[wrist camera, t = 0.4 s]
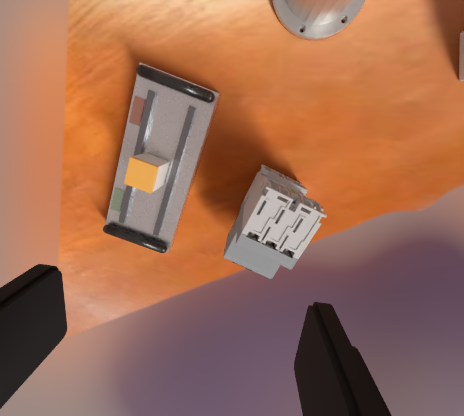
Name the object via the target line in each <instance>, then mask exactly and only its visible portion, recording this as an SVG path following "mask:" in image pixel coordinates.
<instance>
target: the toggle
mask: <svg viewBox="0 0 464 416" xmlns="http://www.w3.org/2000/svg"><path fill="white" fill-rule="evenodd" d="M169 163H170V162H169V161H167V160H164V159H161V158H159V157H156V156H153V155H151V154H148V153H143V154H139V155H135V156H132V157H130V159H129V163H128V168H127V172H126V177H125V181H124V184H126V185H129V186H131V187H134V188H137V189H140V190H142V191H145V192H148V193H150V194H151V193H152V192H154V191H155V190H157V189H158V188H160V187H161V186H163V185H164V181H165V178H166V174H167V171H168V167H169Z"/></svg>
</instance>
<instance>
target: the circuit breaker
mask: <svg viewBox="0 0 464 416" xmlns="http://www.w3.org/2000/svg"><path fill="white" fill-rule="evenodd" d="M266 169H267V170H266ZM268 170H269V171H268ZM307 191H308V190H307V189H306V188H305V187H304V186H303V185H302V183H299V182H297V181H295V180H293V179H291V178H289V177H287V176H285V175H283V174H281V173H279V172H277V171H275V170H273V169H271V168H269V167H267V166H265V165H263V164H262V165H261V169H260V171H258V173H257V175H256V177H255V179H254V180H253V182H252V184H251V186H250V188H249V190H248V192H247V194H246V196H245V198H244V200H243V202H242V204H241V206H240V213H239V215H238V217H237V219H236V220H235V222H234V224H233V226H232V228H231V230H230V232H229V234H228V237H227V242H226V247H225V249H224V256H223V257H224V258H226V259H228V260H230V261H232V262H233V263H236V264H238V265H241V266H243V267H245V268H246V269H249V270H251V271H254V272H257V273H259V274H261V275H263V276H265V277H267V278H270V279H272V278H273V276H274V274H275V273H276V271H277V270H278V268H279V267H280V265H282V266H284V267H286V268H288V269H290V270H291V269H292V268H293V266H294V265H295V263H296V262H297V260H298V259H299V257H300V256H301V254H302V253H303V251H304V250H305V248H306V246H307V245H308V243H309V242H310V240H311V239H312V237H313V236H314V234H315V233H316V231H317V230H318V228H319V227H320V225H321V223H320V219H321V218H322V216H323V217H326V214H324V213H323V210H324V209H323V208H322V206H321V205H320V204H319V203H318V202H316V201H314V200H312V199H310V198H308V197H306V196H305V195H306V193H307Z"/></svg>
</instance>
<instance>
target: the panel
mask: <svg viewBox="0 0 464 416" xmlns="http://www.w3.org/2000/svg"><path fill="white" fill-rule="evenodd" d="M136 71H137V77H136V82H135V86H134V91H133V96H132V101H131V105H130V110H129V115H128V120H127V124H126V129H125V134H124V139H123V143H122V148H121V153H120V158H119V162H118V167H117V172H116V177H115V181H114V186H113V191H112V196H111V200H110V205H109V210H108V215H107V219H106V224H105V226H104V227H103V231H104V232H105V233H107V234H110V235H112V236H115V237H118V238H121V239H124V240H126V241H129V242H132V243H135V244H138V245H140V246H143V247H146V248H149V249H152V250H154V251H157V252H160V253H165V252H167V253H168V252H169V251H170V249H171V248H172V246H173V243H174V239H175V236H176V233H177V230H178V227H179V224H180V221H181V218H182V214H183V211H184V208H185V205H186V202H187V199H188V196H189V193H190V189H191V186H192V183H193V180H194V177H195V174H196V171H197V168H198V164H199V161H200V158H201V155H202V152H203V149H204V146H205V143H206V139H207V136H208V133H209V130H210V127H211V124H212V121H213V118H214V114H215V111H216V108H217V105H218V102H219V99H220V96H221V95H220V94H219V93H217V92H215V91H212V90H210V89H207V88H204V87H202V86H199V85H197V84H194V83H192V82H189V81H187V80H184V79H182V78H179V77H176V76H174V75H171V74H169V73H166V72H164V71H161V70H159V69H156V68H154V67H151V66H148V65H146V64H143V63H141V62H140V63H139V65H138V66H137V68H136ZM143 153H148V154H151V155H153V156H156V157H159V158H161V159H164V160H167V161H169V162H170V163H169V167H168V171H167V174H166V178H165V181H164V185H163V186H161V187H160V188H158V189H157V190H155V191H154V192H152V193H151V194H150V193H148V192H145V191H142V190H140V189H137V188H134V187H131V186H129V185H126V184H124V181H125V177H126V172H127V168H128V163H129V159H130V157H132V156H135V155H139V154H143Z"/></svg>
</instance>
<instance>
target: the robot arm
mask: <svg viewBox="0 0 464 416" xmlns="http://www.w3.org/2000/svg"><path fill="white" fill-rule="evenodd" d="M272 1H273V6H274V9H275V12H276V15H277V17H278V19H279V20H280V22H281V23H282V25H283V26H284V27H285V28H286V29H287V30H288V31H289V32H290V33H292V34H293V35H295V36H297V37H299V38H302V39H306V40H321V39H325V38H328V37H331V36H333V35H335V34H337V33H338V32H340V31H341V30H343V29H344V28H345V27H346V26H347V25H348V24H349V23H350V22H351V21H352V20H353V19H354V18H355V17H356V15H357V14H358V12H359V11H360V9H361V8H362V6H363V4H364V2H365V0H272ZM341 20H343V21H344V23H342V22H341ZM301 29H302V30H303V32H302V33H301V32H300V30H301ZM66 332H67V321H66V311H65V301H64V291H63V281H62V273H61V272H60V271H59V270H58V268H57V267H56V266H50V265H43V264H38V265H36V266H34V267H33V268H31V269H29V270H28V271H26V272H25V273H23V274H22V275H20V276H18V277H17V278H15V279H14V280H12V281H11V282H9V283H7V284H6V285H4V286H3V287H1V288H0V409H1V408H2V406H3V405H4V404H5V403H6V402H7V401H8V399H10V397H11V396H12V395H13V394H14V393H15V392H16V391H17V390H18V388H19V387H20V386H21V385H22V384H23V383H24V382H25V380H26V379H27V378H28V377H29V376H30V375H31V374H32V373H33V372H34V370H35V369H36V368H37V367H38V366H39V365H40V364H41V363H42V361H43V360H44V359H45V358H46V357H47V356H48V355H49V354H50V353H51V351H52V350H53V349H54V348H55V347H56V346H57V345H58V344H59V342H60V341H61V340H62V339H63V338H64V336H65V334H66ZM294 371H295V377H296V382H297V387H298V392H299V397H300V402H301V408H302V412H303V416H391V414H390V412H389V410H388V408H387V406H386V404H385V402H384V400H383V398H382V396H381V394H380V392H379V390H378V388H377V386H376V384H375V382H374V380H373V378H372V376H371V374H370V372H369V370H368V368H367V366H366V364H365V362H364V360H363V358H362V356H361V354H360V352H359V351H358V349H357V348H355V347H354V346H352V345H351V343H350V341H349V339H348V337H347V335H346V333H345V331H344V329H343V327H342V325H341V323H340V321H339V318H338V316H337V314H336V312H335V310H334V308H333V306H332V305H331V304H327V303H319V302H315V303H314V304H313V306H311V305H309V306H308V309H307V313H306V317H305V321H304V326H303V329H302V333H301V337H300V341H299V345H298V350H297V353H296V357H295V362H294Z"/></svg>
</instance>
